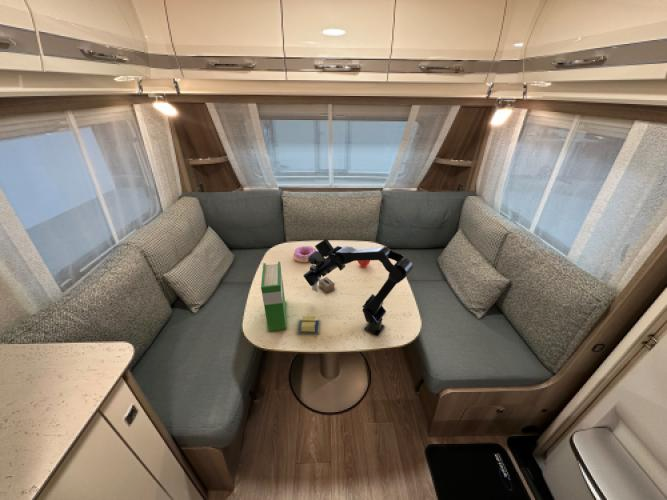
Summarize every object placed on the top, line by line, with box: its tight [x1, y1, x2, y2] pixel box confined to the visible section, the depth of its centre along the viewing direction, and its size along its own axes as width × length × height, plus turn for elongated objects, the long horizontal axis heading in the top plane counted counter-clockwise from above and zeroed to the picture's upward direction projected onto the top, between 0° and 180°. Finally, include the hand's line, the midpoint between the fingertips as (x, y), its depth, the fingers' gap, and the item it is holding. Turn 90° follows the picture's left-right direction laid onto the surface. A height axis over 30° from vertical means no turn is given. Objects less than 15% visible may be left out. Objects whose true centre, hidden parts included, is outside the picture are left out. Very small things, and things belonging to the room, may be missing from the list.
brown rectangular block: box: [318, 276, 335, 294], centre depth 140 cm, size 7×5×4 cm
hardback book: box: [260, 261, 287, 332], centre depth 118 cm, size 18×7×24 cm, turn 10°
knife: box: [309, 264, 318, 293], centre depth 127 cm, size 3×2×14 cm
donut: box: [293, 245, 317, 263], centre depth 167 cm, size 14×14×5 cm
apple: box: [357, 260, 371, 268], centre depth 156 cm, size 9×8×11 cm
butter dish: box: [297, 315, 320, 335], centre depth 117 cm, size 8×7×4 cm
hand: (311, 276), depth 127 cm, fingers closed on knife, 2 cm apart
